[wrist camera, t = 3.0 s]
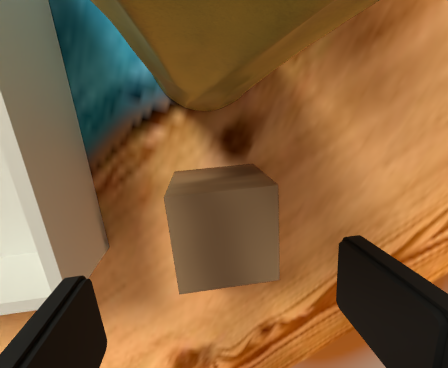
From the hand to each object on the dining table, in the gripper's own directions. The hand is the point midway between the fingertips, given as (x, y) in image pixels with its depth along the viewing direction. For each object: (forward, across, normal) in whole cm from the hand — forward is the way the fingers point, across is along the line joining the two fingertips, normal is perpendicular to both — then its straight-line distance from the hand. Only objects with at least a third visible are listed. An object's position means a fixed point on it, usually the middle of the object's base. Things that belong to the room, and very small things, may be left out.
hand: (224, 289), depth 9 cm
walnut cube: (+7, -1, -1) cm, 7 cm away
